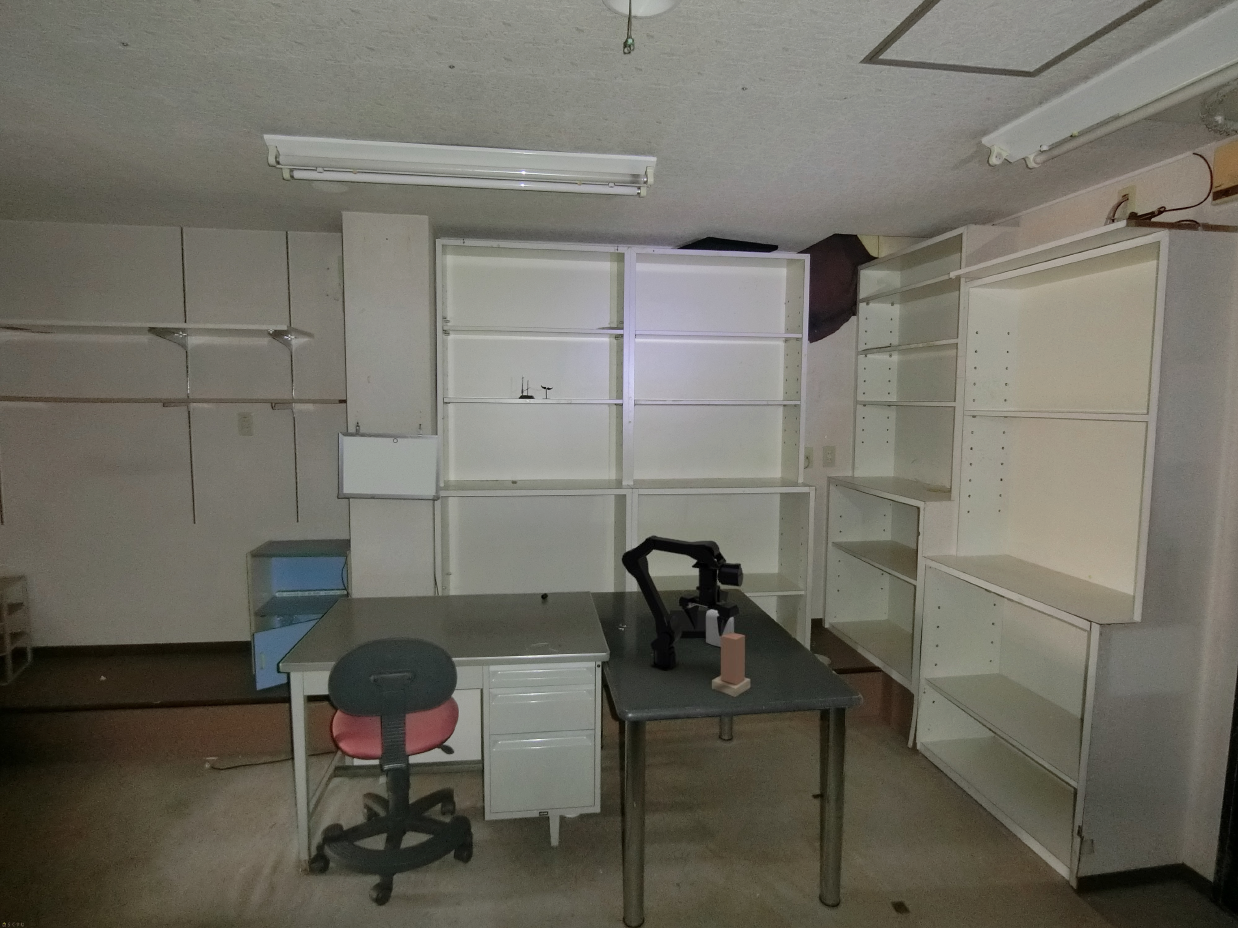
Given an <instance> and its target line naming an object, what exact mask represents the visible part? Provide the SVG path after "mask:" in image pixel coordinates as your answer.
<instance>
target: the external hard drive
mask: <svg viewBox="0 0 1238 928" xmlns="http://www.w3.org/2000/svg"><path fill="white" fill-rule="evenodd" d="M707 611H708V610H701V609H700V610H699V609H698V626H697V629H696V630H695V629H694V628H693V626H692V624H691V622H690V620H689V618H688V616H687V614H686V612H685V611H684V610H683V609H682V610H681V609H680V610H677V609H676V610H675V609H674V610H673V609H670V610H669V614H670V615H671V616H672V617H674V616H677V617H678V621H679V623H680V624H681V625H682V627H681V630H682V634H681V637H680V638H679V639H695V638H703V639H704V640H706V639H705V638H706V613H707Z"/></svg>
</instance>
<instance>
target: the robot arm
mask: <svg viewBox="0 0 1238 928" xmlns="http://www.w3.org/2000/svg"><path fill="white" fill-rule="evenodd" d="M720 550H721V549H720V546H719V544H717V542H715V540H698V541H697V540H696V541H687V540H680V539H674V538H670V537H669V538H668V537H663V536H658V535H656V534H655V535H654V534H653V535H650V536H648V537H646V538H645V539H644V540H643V541H642V542H641V543H640V544H638V545H637V546H636V547H634V548H631V549H629V550H627V551H625V552H624V553H623V554H622V557H621V562H622V566H623V567H624V568H625V570H626V572H627V573H628V574H630V576H632V577H633V578H634V580H635V581H636V583H637V585H638V588H639V590H640V591H641V594H642V595H643V598H644V599H645V602H646V604H647V606H648V608H649V611H650V613H651V615H652V617H653V619H654V627H655V628H654V630H655V633H656V636H657V637H656V638H655V639H653V641H652V642H650V647H651V650H652V651H653V662H651V663H650V665H649V666H651V667H654V668H656V669H660V670H663V671H669V670H670V669H672V668H675V667H677V666H678V665H679V663H678V662H676V659H677V655H676V647H675V646H674V645H675V644H676V643H677V641H678V640H679V639H681V638H680V637H681V634H682V630H681V627H682V625H681V624H680V623H679V621H678V617H677V616H674V617H672V616H671V615H670V612H668V610H667V607H666V606H665V604H664V601H663V599H662V597H661V595H660V593H659V591H658V589H657V587H656V585H655V583H654V580H653V578H652V577H651V574H650V571H649V568H650V567H649V560H648V557H647V556H649V554H651V553H652V552H653V551H659V552H665V553H671V554H677V555H681V556H687V557H690V558H691V559H693V560H695V561H696V562H695V563H693V564H692V565H691V569H698V585H697V586H696V587H695V590H697V591H698V595H696V594H691V593H687V594H685V595H682V596H680V597H679V598H678V607H681V609H682V610H684V611H685V612H686V614H687V616H688V618H689V620H690V622H691V624H692V626H693V628H694V629H695V630H696V629H697V626H698V610H699V608H700V607H701V608H704V609H708V610H712V609H713V610H717V611H718V614H719V616H717V623H718V633H719V636H720V637H721V636H722V635H723V632H724V629H725V627H726V624H727V622H728V620H729V619H730V618H731V617H735V616H737V615H739V614H740V610H739V609H740V608H739V606H738V604H735V603H730V602H728V597H729V591H726V590H722V589H721V586H731V587H737V588H738V587H739V588H741V586H742V585H743V581H744V572H743V568H742V564H741V563H738V562H736V563H731V562H727V559H726V558H725V556H724V555H723V554H722V553H721V551H720ZM718 583H720V584H721V586H720V584H718ZM721 602H724V603H723V604H720V603H721ZM718 603H719V604H718Z"/></svg>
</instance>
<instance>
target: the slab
mask: <svg viewBox="0 0 1238 928" xmlns="http://www.w3.org/2000/svg"><path fill="white" fill-rule="evenodd" d="M711 689H712V690H714V689H715V690H714V691H717V692H720V693H723V694H726V695H729V696H731V697H734V698H736V697H738V696H739V695H741V694H742V693H745V692H746V691H748V690H749V689H751V678H747V677H745V679H744V680H743V681H741V682H739V683H738V684H733V683H729V682H726V681H722V680H721V675H719V676H717V677H715V678H714V679H712V680H711Z"/></svg>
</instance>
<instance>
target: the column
mask: <svg viewBox="0 0 1238 928" xmlns="http://www.w3.org/2000/svg"><path fill="white" fill-rule="evenodd" d="M745 659H746V635H744V634H740V633H736V632H734V633H732V632H729V633H727V634H725V635H722V636H721V647H720V676H721V680H722V681H726V682H729V683H733V684H738V683H739V682H741V681H743V680H744V679H745V678H746V676H745V675H746V674H745V673H746V672H745V671H746V665H745V664H746V662H745Z"/></svg>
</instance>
